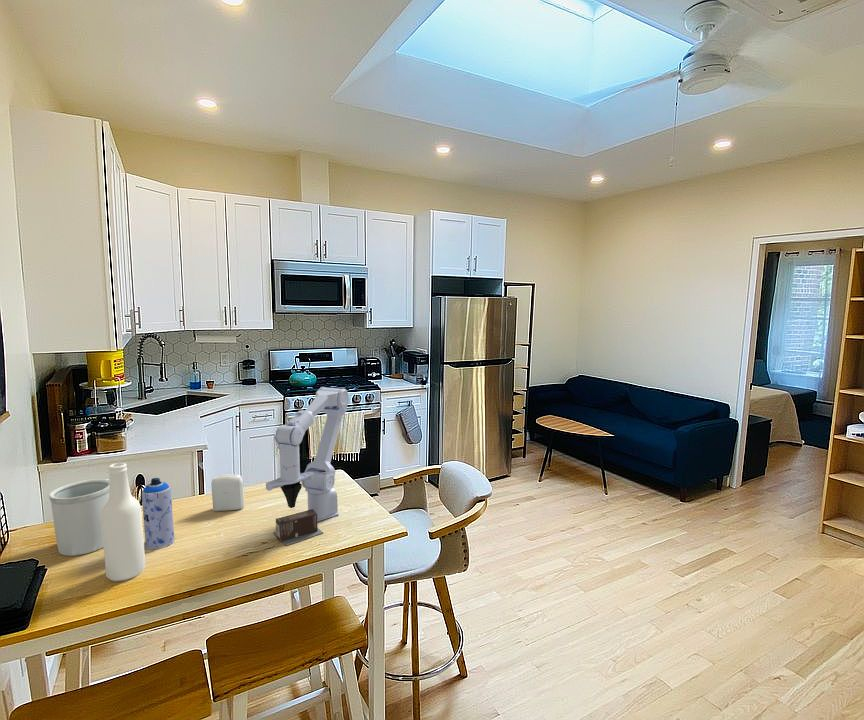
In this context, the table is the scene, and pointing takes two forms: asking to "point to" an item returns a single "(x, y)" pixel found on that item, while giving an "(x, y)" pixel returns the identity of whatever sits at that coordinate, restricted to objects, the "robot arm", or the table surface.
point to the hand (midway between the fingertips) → (291, 506)
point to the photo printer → (227, 492)
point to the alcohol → (122, 528)
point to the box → (296, 525)
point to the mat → (301, 537)
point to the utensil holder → (79, 516)
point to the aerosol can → (157, 515)
